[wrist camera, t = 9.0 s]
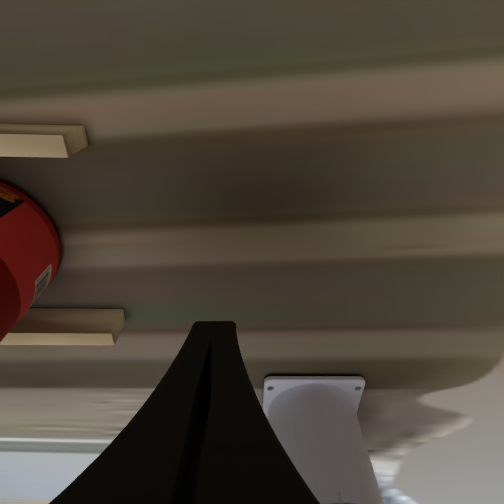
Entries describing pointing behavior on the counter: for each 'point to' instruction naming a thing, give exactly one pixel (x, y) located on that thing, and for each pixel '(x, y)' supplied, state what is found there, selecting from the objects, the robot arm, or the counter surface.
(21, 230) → the canned food
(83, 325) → the bracket
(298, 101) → the counter surface
